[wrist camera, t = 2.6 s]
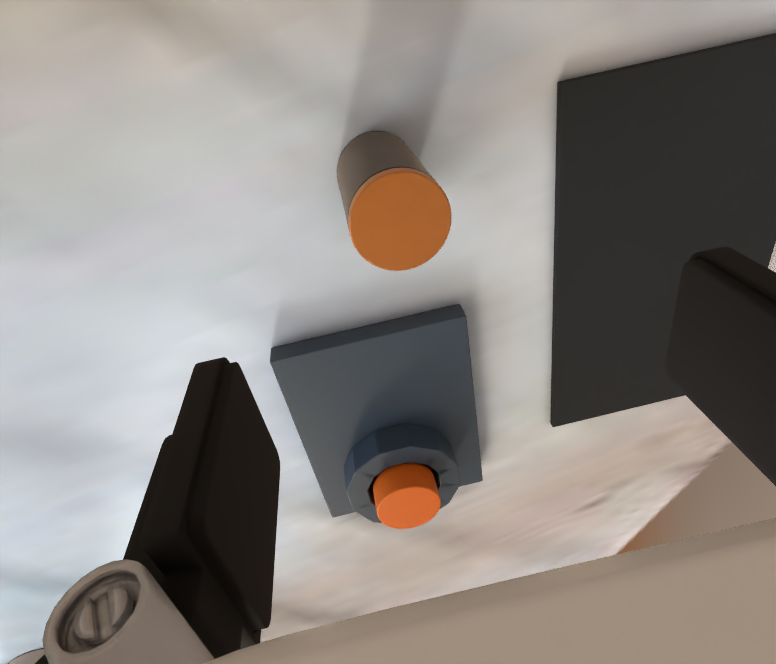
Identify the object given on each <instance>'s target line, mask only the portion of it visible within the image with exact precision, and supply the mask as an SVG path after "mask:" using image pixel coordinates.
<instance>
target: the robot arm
mask: <svg viewBox="0 0 776 664" xmlns="http://www.w3.org/2000/svg"><path fill="white" fill-rule="evenodd" d="M665 370H666V373H667V375H668V377H669V378H670V380H671V381H672V382H673V383H674V384H675V385H676V386H677V387H678V388H679V389H680V390H681V391H682V392H683V393H684V394H685V395H686V396H687V397H688V398H689V399H690V400H691V401H692V402H693V403H694V404H695V405H696V406H697V407H698V408H699V409H700V410H701V411H702V412H703V413H704V414H705V415H706V416H707V417H708V418H709V419H710V420H711V421H712V422H713V423H714V424H715V425H716V426H717V427H718V428H719V429H720V430H721V431H722V432H723V433H724V434H725V435H726V436H727V437H728V438H729V439H730V440H731V441H732V442H733V443H734V444H735V445H736V446H737V447H738V448H739V449H740V450H741V451H742V453H744V455H745V456H746V457H747V458H748V459H750V461H752V463H753V464H755V466H756V467H757V468H758V469H759V470H760V471H761V472H762V473H763V474H764V475H765V476H766V477H767V478H768V479H769V480H770V481H771V482H772V483H773V484H774V485H775V486H776V273H775V272H774V271H772V270H770V269H768V268H766V267H764V266H763V265H761V264H759V263H757V262H755V261H754V260H752V259H750V258H748V257H746V256H745V255H743V254H741V253H739V252H737V251H736V250H734V249H732V248H730V247H727V246H723V247H718V248H713V249H709V250H704V251H700V252H696V253H694V254H693V255H692V256H691V257H690V259H689V261H688V262H686V263H685V264H684V265H683V268H682V273H681V278H680V284H679V289H678V295H677V300H676V305H675V311H674V316H673V322H672V327H671V333H670V338H669V343H668V349H667V354H666V360H665ZM279 479H280V460H279V456H278V452H277V449H276V447H275V445H274V443H273V440H272V438H271V436H270V433H269V431H268V429H267V427H266V424H265V422H264V420H263V418H262V415H261V413H260V411H259V408H258V406H257V404H256V402H255V399H254V397H253V395H252V392H251V390H250V388H249V386H248V383H247V381H246V379H245V376H244V374H243V372H242V370H241V367H240V366H239V364H238V363H237V362H233V363H230V362H229V361H228V360H227V359H226V358H224V357H223V358H219V359H214V360H210V361H205V362H201V363H197V364H196V365H195V367H194V369H193V372H192V375H191V379H190V382H189V385H188V388H187V391H186V394H185V397H184V400H183V403H182V406H181V410H180V413H179V416H178V419H177V422H176V425H175V428H174V431H173V434H172V435H169V436H168V437H167V438H165V440H164V442H163V444H162V446H161V449H160V452H159V455H158V458H157V461H156V464H155V467H154V470H153V473H152V476H151V479H150V482H149V485H148V488H147V491H146V493H145V496H144V499H143V502H142V505H141V508H140V511H139V514H138V517H137V520H136V523H135V526H134V529H133V532H132V535H131V538H130V541H129V544H128V547H127V549H126V552H125V555H124V558H123V560H119V561H112V562H110V563H107V564H105V565H103V566H100V567H98V568H96V569H94V570H93V571H91V572H90V573H88V574H87V575H85V576H84V577H82V578H81V579H80V580H79V581H78V582H76V583H75V584H74V585H73V586H72V587H71V588H70V589H69V590H68V591H67V592H66V593H65V594H64V596H63V597H62V598H61V600H60V601H59V602H58V604H57V605H56V606H55V607H54V609H53V611H52V613H51V615H50V617H49V619H48V621H47V623H46V627H45V631H44V636H43V646H44V652H45V654H44V655H43V656H42V657H41V658H40V659H39V660H38V661H37V662H36V663H34V664H776V518H773V519H769V520H764V521H760V522H756V523H751V524H747V525H742V526H738V527H734V528H729V529H725V530H721V531H716V532H712V533H707V534H703V535H699V536H695V537H690V538H686V539H682V540H677V541H673V542H669V543H664V544H660V545H656V546H652V547H647V548H643V549H639V550H634V551H630V552H626V553H621V554H617V555H613V556H609V557H604V558H600V559H596V560H592V561H587V562H583V563H579V564H574V565H570V566H566V567H562V568H557V569H553V570H549V571H545V572H540V573H536V574H532V575H528V576H524V577H519V578H515V579H511V580H507V581H503V582H498V583H494V584H490V585H486V586H482V587H477V588H473V589H469V590H465V591H461V592H457V593H452V594H448V595H444V596H440V597H436V598H431V599H427V600H423V601H419V602H415V603H410V604H406V605H402V606H398V607H394V608H389V609H385V610H382V611H378V612H374V613H370V614H366V615H362V616H358V617H354V618H350V619H347V620H343V621H339V622H335V623H331V624H327V625H323V626H319V627H315V628H312V629H308V630H304V631H300V632H296V633H292V634H288V635H285V636H282V637H278V638H275V639H272V640H269V641H265V642H262V643H260V637H261V629H264V628H268V627H269V625H270V621H271V608H272V592H273V576H274V560H275V543H276V527H277V511H278V495H279Z"/></svg>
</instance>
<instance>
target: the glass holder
mask: <svg viewBox="0 0 776 664" xmlns="http://www.w3.org/2000/svg"><path fill="white" fill-rule="evenodd" d="M44 654H45V652H44V649H40V650H36V651H32V652H29V653H26V654H23V655H21V656H19V657H17V658H15V659H14V660H12V661H11V662H9V664H34V663H36V662H37V661H38V660H39V659H40V658H41V657H42V656H43V655H44Z"/></svg>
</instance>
